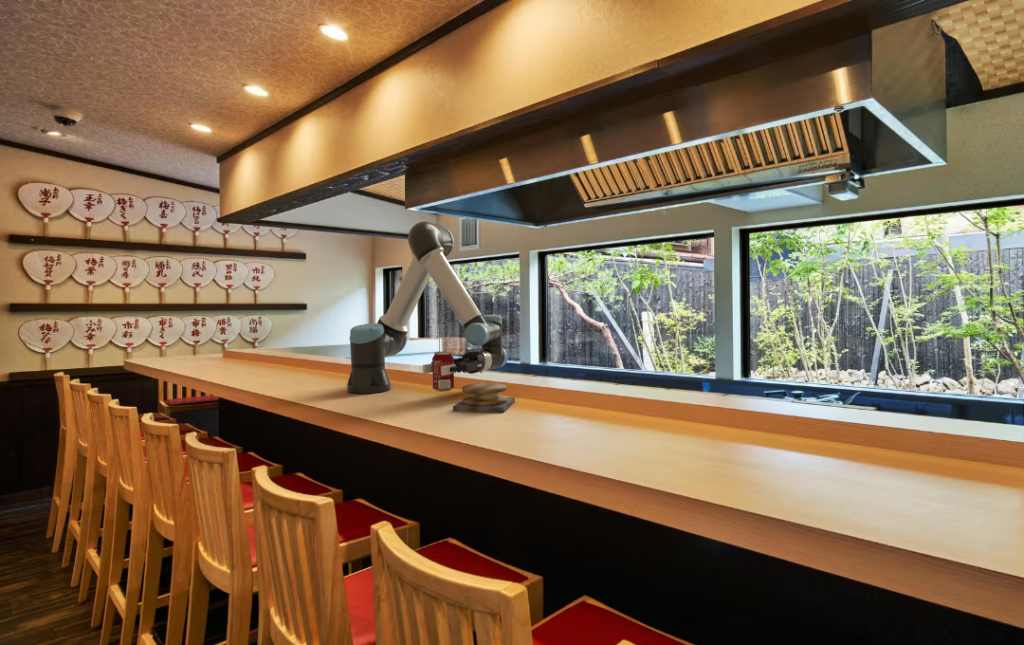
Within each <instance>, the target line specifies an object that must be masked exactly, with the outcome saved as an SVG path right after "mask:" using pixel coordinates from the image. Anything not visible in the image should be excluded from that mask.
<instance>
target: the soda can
mask: <svg viewBox="0 0 1024 645" xmlns="http://www.w3.org/2000/svg"><path fill="white" fill-rule="evenodd" d="M433 354H434V355H433V357H432V358H431V362H432V372H431V373H432V375H431V377H432V389H433V390H435V391H436V392H449V391H452V390H453V389H455V373H452V374H448V375H441V366H447V365H452V364H454V359H455V358H454V356H453V355H452V351H436V352H433Z"/></svg>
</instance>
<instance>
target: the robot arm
mask: <svg viewBox="0 0 1024 645" xmlns="http://www.w3.org/2000/svg"><path fill="white" fill-rule="evenodd" d="M407 243H408V246H409V248H410V250H411V256H412V259H411V260H410V263H409V265H408V267H407V270H406V272H405V274H404V275H403V278H402V280H401V282H400V284H399V286H398V288H397V291H396V293H395V294H394V297H393V299H392V302H390V306H388V309H387V310H386V313H385V314H382V315H381V316H380V317H379V318H378V320H377V322H376V323H373V322H372V323H364V324H358V325H355V326H353V327H352V328H350V330H349V342H350V343H349V345H350V346H349V347H350V366H351V368H350V369H351V370H350V374H349V377H348V380H347V383H346V384H347V385H346V392H347V393H348V394H360V395H361V394H362V395H363V394H376V393H377V394H378V393H382V392H383V393H384V392H388V391H390V390H391V389H392V384H391V379H390V378H389V375H388V372H387V370H386V359H385V358H387V357H393V356H396V355H397V354H399V353H400V352H402V351H403V350H404V349H405V347H406V345H407V342H408V337H407V334H408V332H409V327H408V325H407V324H408V322H409V320H410V319H411V316H412V314H413V312H414V311H415V308H416V307H417V305H418V302H419V301H420V299H421V296H422V294H423V292H424V290H425V289H426V286H427V284H428V283H429V282H428V281H429V280H430V277H431V278H432V280H433V282H434V283H435V285H436V286H437V288H438V289H439V292H441V294H442V296H443V298H444V299H445V301H446V302H447V304H448V305H449V307H450V308H451V310H452V312H453V314H454V315H455V317H456V318H457V319H458V321H459V323H460V325H461V326H462V328H463V330H464V331H465V332H464V337H465V341H466V342H468V343H469V344H470V345H471V346H472V345H473V346H477V347H478V346H480V349H477V350H472V351H467V352H465V353H464V354H463V355H462V356H461V357H458V358H454V364H452V365H447V366H441V375H448V374H452V373H454V374H456V373H459V374H460V373H464V374H466V373H467V374H470V375H472V374H473V375H474V374H477V373H480V374H483V372H485V371H489V370H494V369H495V370H497V369H499V368H502V367H503V366H505V365H506V363H507V362H508V359H509V355H508V352H507V351H506V349H505V348H504V347H503V321H502V316H501V315H499V314H483V315H482V313H481V311H480V310H479V308H478V307H477V305H476V303H475V302H474V301H473V299H472V297H471V296H470V294H469V293H468V291H467V290H466V288H465V286H464V285H463V283H462V281H461V280H460V278H459V276H458V275H457V273H456V272H455V270H454V269H453V267H452V266H451V264H450V262H449V261H448V260H447V258H446V257H448V256H449V255H450V254H451V253H452V252H453V250H454V247H455V238H454V235H453V233H452V231H451V230H450V229H449V228H447V227H445V226H444V225H441V224H437V223H433V222H430V221H420V222H417V223H416V224H413V226H412V227H411V228H410V230H409V232H408V235H407ZM429 373H432V361H430V363H426V364H422V374H423V375H426V374H429Z"/></svg>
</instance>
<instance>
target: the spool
mask: <svg viewBox="0 0 1024 645" xmlns="http://www.w3.org/2000/svg"><path fill="white" fill-rule="evenodd" d="M461 389H462V392H463V393H465V394H470V395H468V396H464V397H463V398H462V399H461V400H460V401H459V402H457V403H455V404H454V405H452V412H453V411H469V412H468V413H500V414H501V413H503V414H504V413H505V412H506V411H507V410H508V409H509V408H511V406H512V405H514V404H515V402H516V397H515V396H513V397H512V396H506V395H502V394H500V393H503V392H505V391H506V390H507V385H506V384H504V383H498V382H496V383H495V382H481V383H480V382H476V383H470V384H466V385H462V388H461Z"/></svg>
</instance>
